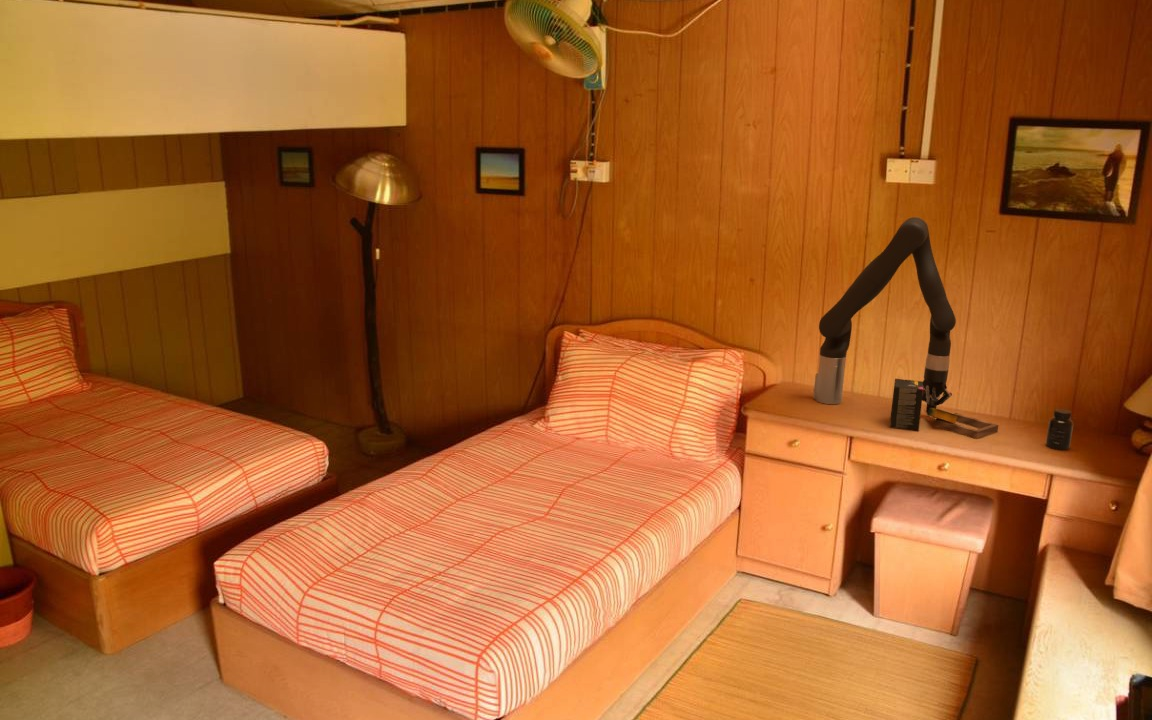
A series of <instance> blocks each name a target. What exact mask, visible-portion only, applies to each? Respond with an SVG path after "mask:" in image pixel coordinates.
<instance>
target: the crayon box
mask: <svg viewBox="0 0 1152 720" xmlns="http://www.w3.org/2000/svg"><path fill="white" fill-rule="evenodd" d="M958 416H959V415H956V414H953V412H950V411H947V410H942V409H939V408H936V409H934V408H930V409H929V412H928V415H927V417H932V418H934V419H937V418H938V419H941V420H945V421H948V422H951V423H955V424H957V421H956V420H957V417H958Z"/></svg>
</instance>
